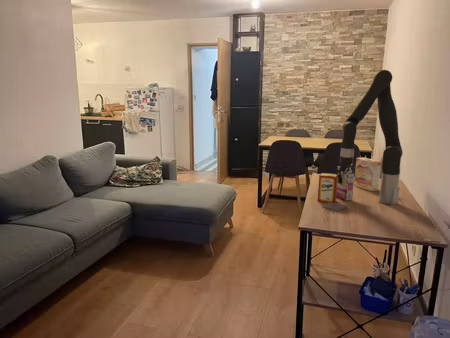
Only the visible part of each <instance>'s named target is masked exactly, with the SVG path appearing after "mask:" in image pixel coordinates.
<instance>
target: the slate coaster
mask: <svg viewBox="0 0 450 338" xmlns="http://www.w3.org/2000/svg"><path fill="white" fill-rule="evenodd" d="M321 207H322V208H324V207H325V208H324V209H328V208H329V210H332V211H333V210H334V211H336V212H341V211H343V210H344V209H346V208H348V205H346V204H341V203H336V202H335V203H333V202H330V203H326V204H322V205H321Z"/></svg>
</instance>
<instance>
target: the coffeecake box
mask: <svg viewBox="0 0 450 338" xmlns="http://www.w3.org/2000/svg"><path fill="white" fill-rule="evenodd" d="M381 169H382V161H381V160H377V159H371V158H369V157H368V158H367V157H356V160H355V168H354V185H353V187H357V188H360V189H364V190H366V191H370V192H373V191H375V192H376V191H379V186H380V185H379V184H380V175H381Z"/></svg>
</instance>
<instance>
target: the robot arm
mask: <svg viewBox="0 0 450 338" xmlns="http://www.w3.org/2000/svg"><path fill="white" fill-rule="evenodd" d="M372 80H373V81H372V83H371V85H370V87H369V89H368V90H367V91H366V93H365V95H364V96H363V97H362V98H361V100H360V101H359V102H358V103H357V105H356V106H355V108H354V109H353V111H352V112H351V114H350V115H349V117H348V118H347V119H346V120H345V121H344V123H343V124H342V130H343V138H342V140H341V147H340V154H339V164H340V166H339V165H337V166H336V172H335V174H336V175H338V183H340V184H341V183H342V177H343V175H344V174H345V172H351V173H354V174H355V167H356V164H354V155H355V140H356V136H357V135H356V134H357V128H358V127H357V126H358V124H360V122H361V121H363V119H365V117H366V115H367V114H368V112H369V111H370V110H371V108H372V106H373V105H374V103H375V102H376V100H377V112H378V121H379V125H380V128H381V131H382V134H383V137H384V144H385V145H384V146H385V149H384V150H383V153H382V161H381V178H380V185H379V186H380V188H379V196H378V197H379V199H378V202H379V203H381V204H384V205H391V206H393V205H396V204H398V203H399V196H400V188H401V187H399V182H400V174H401V160H402V159H401V158H402V157H403V149H402V145H401V141H400V136H399V121H398V115H397V114H398V113H397V108H396V104H395V102H394V100H393V97H392V96H393V95H392V90H391V89H392V88H391V83H392V81H393V74H392V72H391V71H389V70H387V69H382V70H378V71H377V72H376V73H375V74H374V75H373V79H372ZM341 171H342V172H341ZM338 172H339V174H338Z"/></svg>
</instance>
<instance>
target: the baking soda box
mask: <svg viewBox="0 0 450 338" xmlns="http://www.w3.org/2000/svg"><path fill="white" fill-rule="evenodd" d="M326 173H327V172H326ZM326 173H323V172H321V173H320V174H319V176H318V177H319V178H318V189H317V193H318V194H317V202H319V201H320V202H321V203H326V202H327V203H330V202H333V203H336V201H337V197H336V195H337V182H338V175H336V173H330V174H326ZM320 202H319V203H320ZM327 203H326V204H327Z"/></svg>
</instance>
